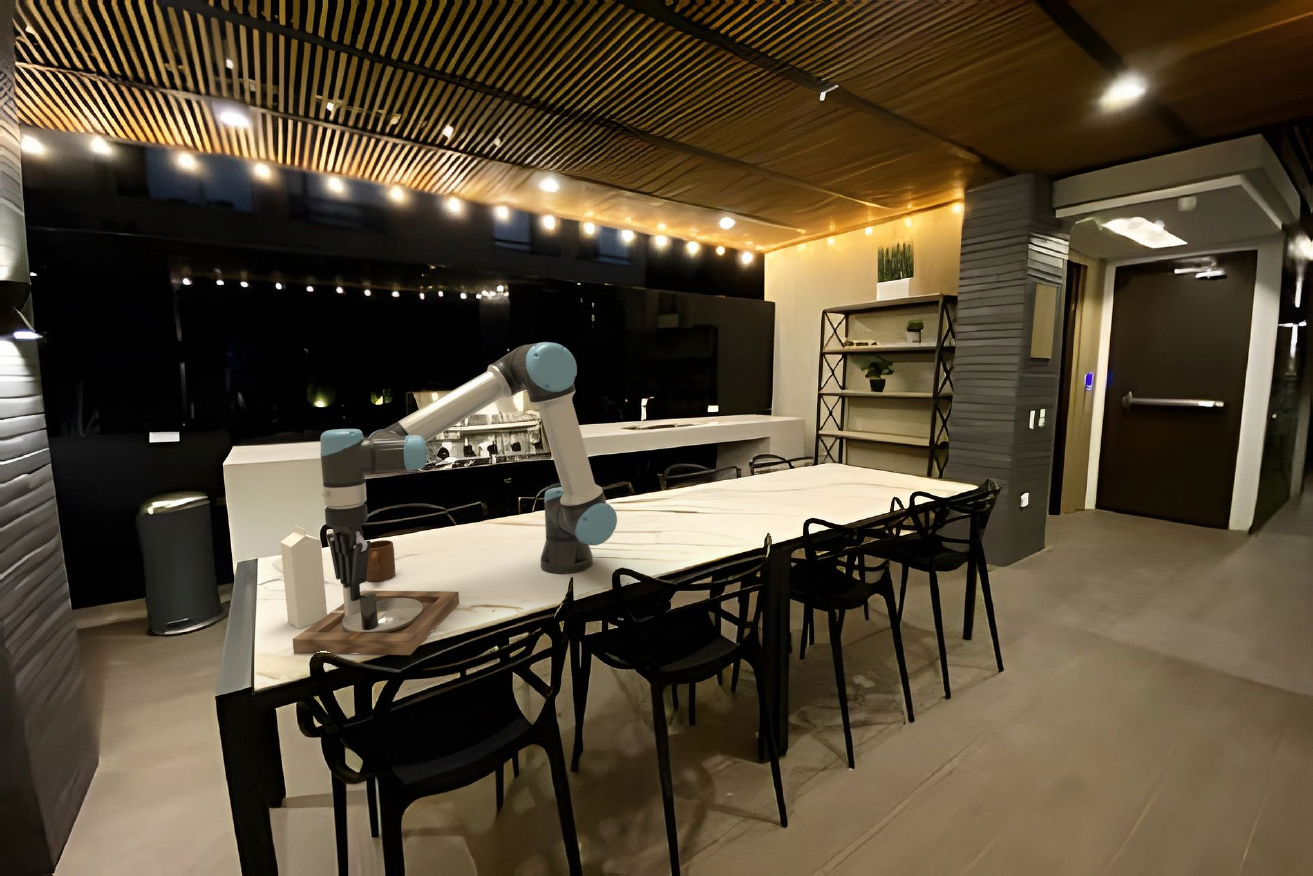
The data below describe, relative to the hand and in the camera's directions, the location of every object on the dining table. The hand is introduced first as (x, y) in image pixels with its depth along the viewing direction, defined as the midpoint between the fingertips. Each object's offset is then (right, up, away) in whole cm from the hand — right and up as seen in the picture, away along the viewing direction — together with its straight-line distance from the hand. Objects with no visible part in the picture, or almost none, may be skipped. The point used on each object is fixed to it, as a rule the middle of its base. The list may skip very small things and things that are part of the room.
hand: (353, 613), depth 112 cm
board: (+3, -5, +7) cm, 9 cm away
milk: (-16, -5, +9) cm, 19 cm away
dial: (+3, -3, +6) cm, 8 cm away
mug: (-12, -2, +33) cm, 35 cm away
